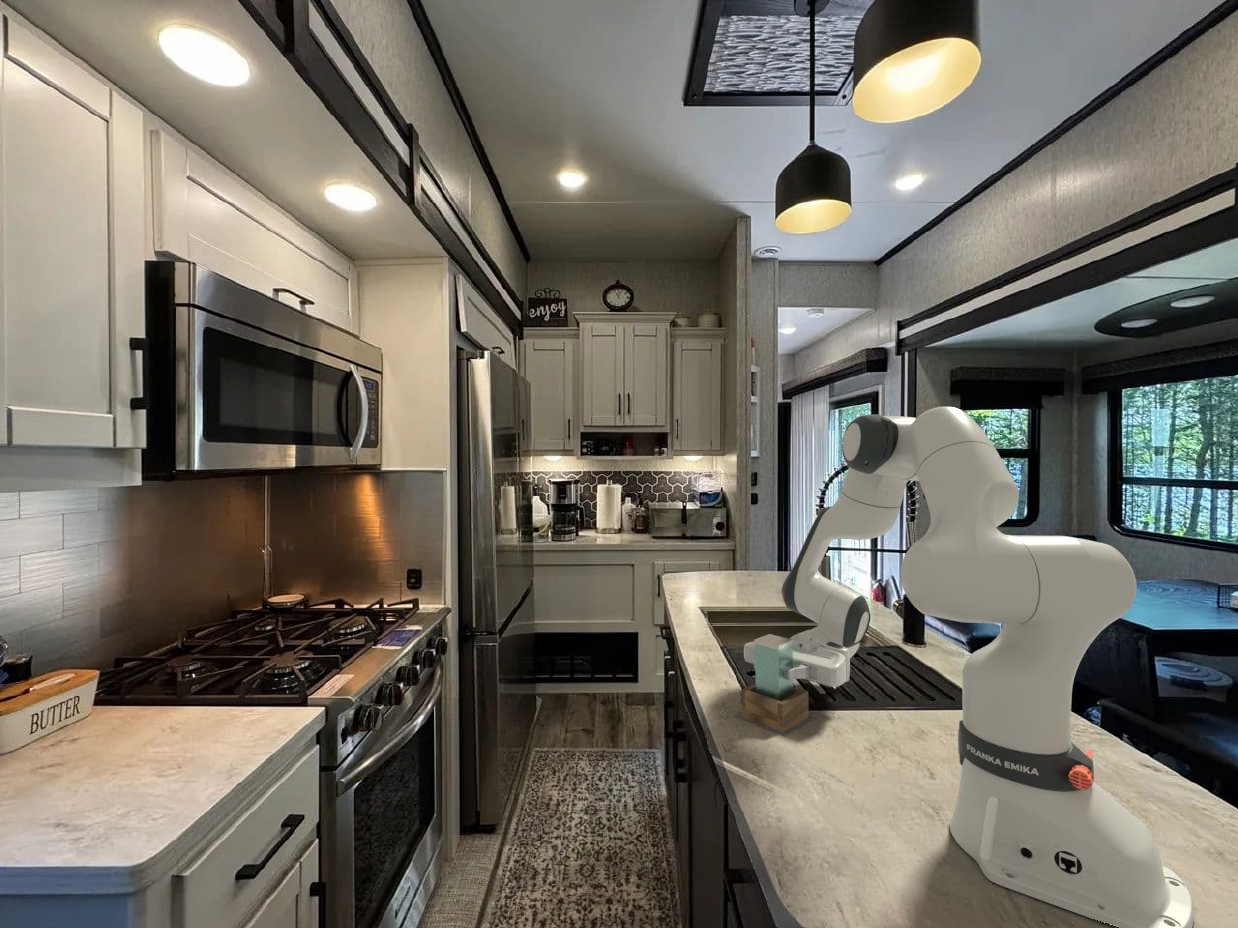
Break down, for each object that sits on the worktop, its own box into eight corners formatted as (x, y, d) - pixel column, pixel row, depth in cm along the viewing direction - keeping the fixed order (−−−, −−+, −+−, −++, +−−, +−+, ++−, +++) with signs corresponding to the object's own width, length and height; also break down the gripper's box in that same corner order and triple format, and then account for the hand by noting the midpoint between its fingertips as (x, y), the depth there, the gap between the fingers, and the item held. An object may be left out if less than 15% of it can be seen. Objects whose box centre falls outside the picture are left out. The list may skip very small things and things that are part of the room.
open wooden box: (808, 717, 104) (808, 690, 104) (783, 732, 98) (782, 704, 98) (767, 702, 111) (767, 677, 111) (740, 716, 105) (740, 689, 105)
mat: (816, 719, 104) (816, 717, 104) (785, 738, 97) (785, 736, 97) (765, 701, 112) (765, 699, 112) (733, 718, 105) (733, 716, 105)
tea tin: (794, 704, 104) (793, 639, 105) (779, 712, 101) (778, 645, 101) (770, 695, 108) (769, 633, 108) (755, 703, 105) (754, 639, 105)
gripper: (764, 628, 121) (726, 641, 112) (856, 650, 106) (821, 667, 97) (765, 657, 121) (727, 672, 112) (857, 683, 106) (821, 703, 97)
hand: (771, 670), depth 104 cm, fingers closed on tea tin, 5 cm apart
